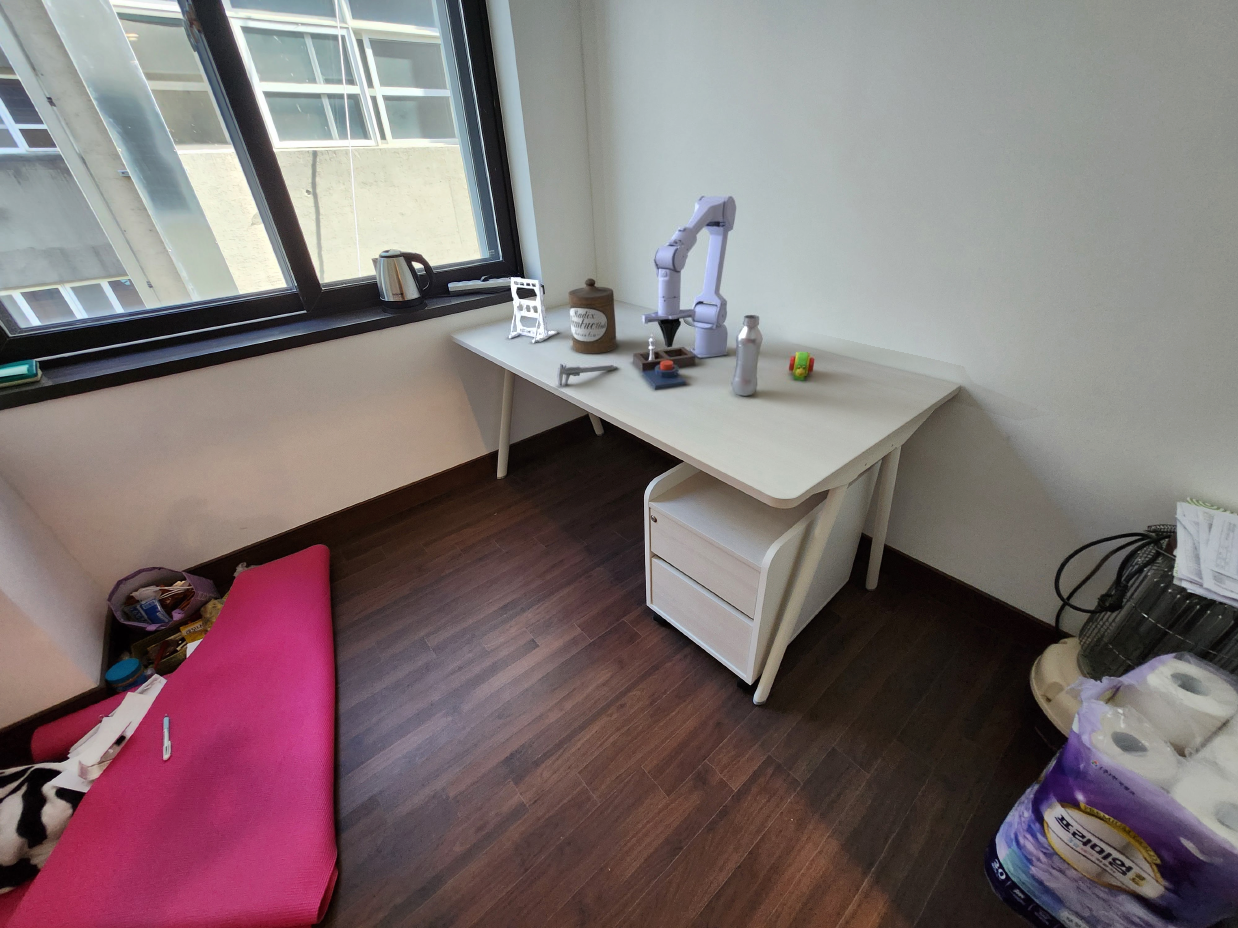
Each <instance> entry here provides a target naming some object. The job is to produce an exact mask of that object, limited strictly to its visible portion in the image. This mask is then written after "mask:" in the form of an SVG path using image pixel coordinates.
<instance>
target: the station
mask: <svg viewBox="0 0 1238 928" xmlns="http://www.w3.org/2000/svg"><path fill="white" fill-rule="evenodd" d="M641 373H642V377H643V378H644V379H645V380H646V381H647V383H649V385H650V386H651V387H652V388H653V389H654V390H660V389H661V390H662V389H669V388H675V387H682V386H686V385H687V381H686V380H685V379H684V378H683V377H682V376H681V375H680V374H679V367H678V366H677V365H674V364H673V369H672V370H668V371H667V370H661V369H660V365H657V366H656V367H655V370H651V371H644V372H641Z"/></svg>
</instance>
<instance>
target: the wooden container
mask: <svg viewBox="0 0 1238 928" xmlns="http://www.w3.org/2000/svg"><path fill="white" fill-rule="evenodd" d="M584 285H585V286H584V287H579V288H575V289H571V290H570V291H568V294H567V295H568V296H567V297H568V305H569V314H570V332H571V343H572V349H573V350H574V351H576V352H578V353H582V354H592V355H593V354H603V353H607V352H610V351H612V350H614V349H616V347H617V324H616V313H615V295H614V290H613V288H610V287H605V286H596V279H594V278H591V277H590V278H587V279H585V281H584Z"/></svg>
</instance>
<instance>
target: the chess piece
mask: <svg viewBox="0 0 1238 928" xmlns="http://www.w3.org/2000/svg"><path fill="white" fill-rule="evenodd" d="M655 343H656V339H655V338H654V333H653V332H651V333H650V338H649V339H648V344H649V346H648V350H649V351H650V357H649V360H655V358H654V351H655V349H656V346H655Z"/></svg>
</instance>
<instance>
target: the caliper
mask: <svg viewBox="0 0 1238 928" xmlns="http://www.w3.org/2000/svg"><path fill="white" fill-rule="evenodd" d="M617 368H618V367H617V366H615V365H614V364H611V363H610V364H601V365H590V366H580V365H573V366H567V364H566V363H563V364H562V363H560V364H559V367H558V368H557V375H556V378H557V384H558V385H559V386H561V387H562V386H563V385H564V386H567V385H568V383H569V380H570V377H571V376H573V377H576V376H577V377H580V375H581V374H584V373H597V372H604V371H605V372H607V371H613V370H614V369H617Z"/></svg>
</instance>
